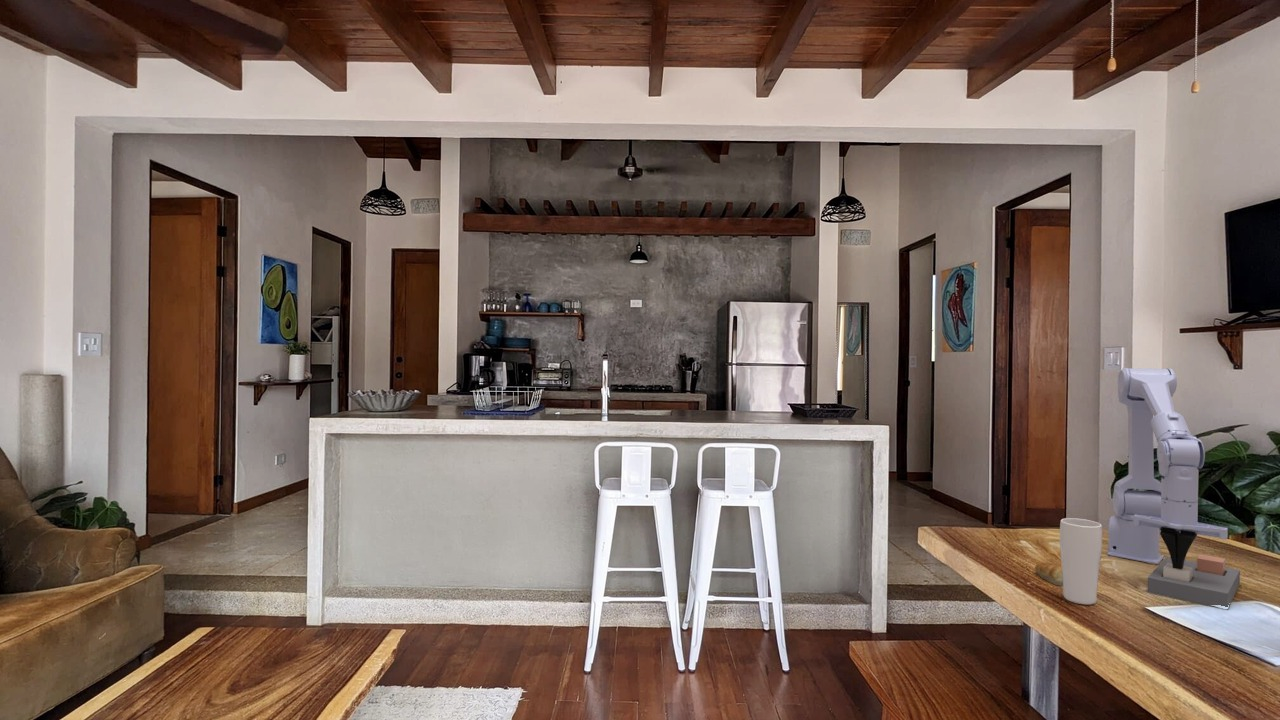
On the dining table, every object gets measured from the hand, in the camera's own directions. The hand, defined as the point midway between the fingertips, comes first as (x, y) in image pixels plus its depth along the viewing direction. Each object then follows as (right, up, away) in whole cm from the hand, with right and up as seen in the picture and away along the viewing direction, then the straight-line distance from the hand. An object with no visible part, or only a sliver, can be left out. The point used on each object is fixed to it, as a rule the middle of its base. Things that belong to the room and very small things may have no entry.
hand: (1177, 567), depth 134 cm
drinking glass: (-23, -5, -5) cm, 24 cm away
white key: (0, -3, 0) cm, 3 cm away
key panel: (+5, -5, +2) cm, 7 cm away
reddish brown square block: (+10, -2, +4) cm, 11 cm away
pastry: (-20, -5, +7) cm, 21 cm away
